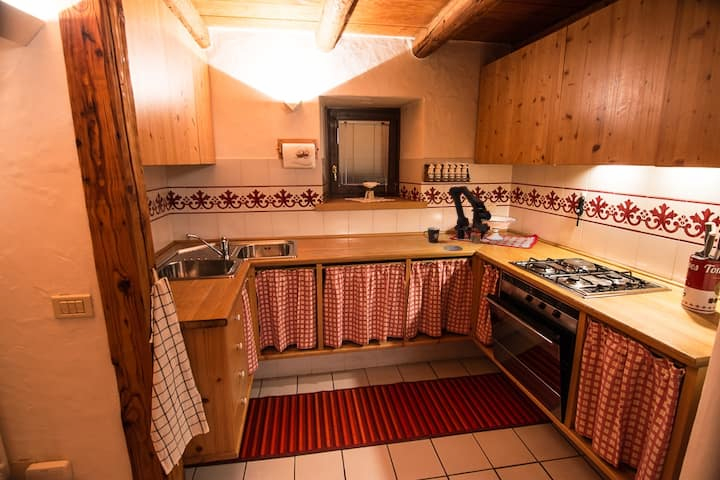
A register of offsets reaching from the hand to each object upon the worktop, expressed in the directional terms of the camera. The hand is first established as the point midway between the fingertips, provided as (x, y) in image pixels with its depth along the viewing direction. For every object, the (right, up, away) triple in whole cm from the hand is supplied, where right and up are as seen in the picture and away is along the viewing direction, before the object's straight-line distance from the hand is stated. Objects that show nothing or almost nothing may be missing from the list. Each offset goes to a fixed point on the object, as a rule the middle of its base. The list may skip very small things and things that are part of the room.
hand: (475, 240), depth 253 cm
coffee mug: (-31, -2, +3) cm, 31 cm away
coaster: (-20, -6, -15) cm, 26 cm away
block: (0, -2, 0) cm, 2 cm away
